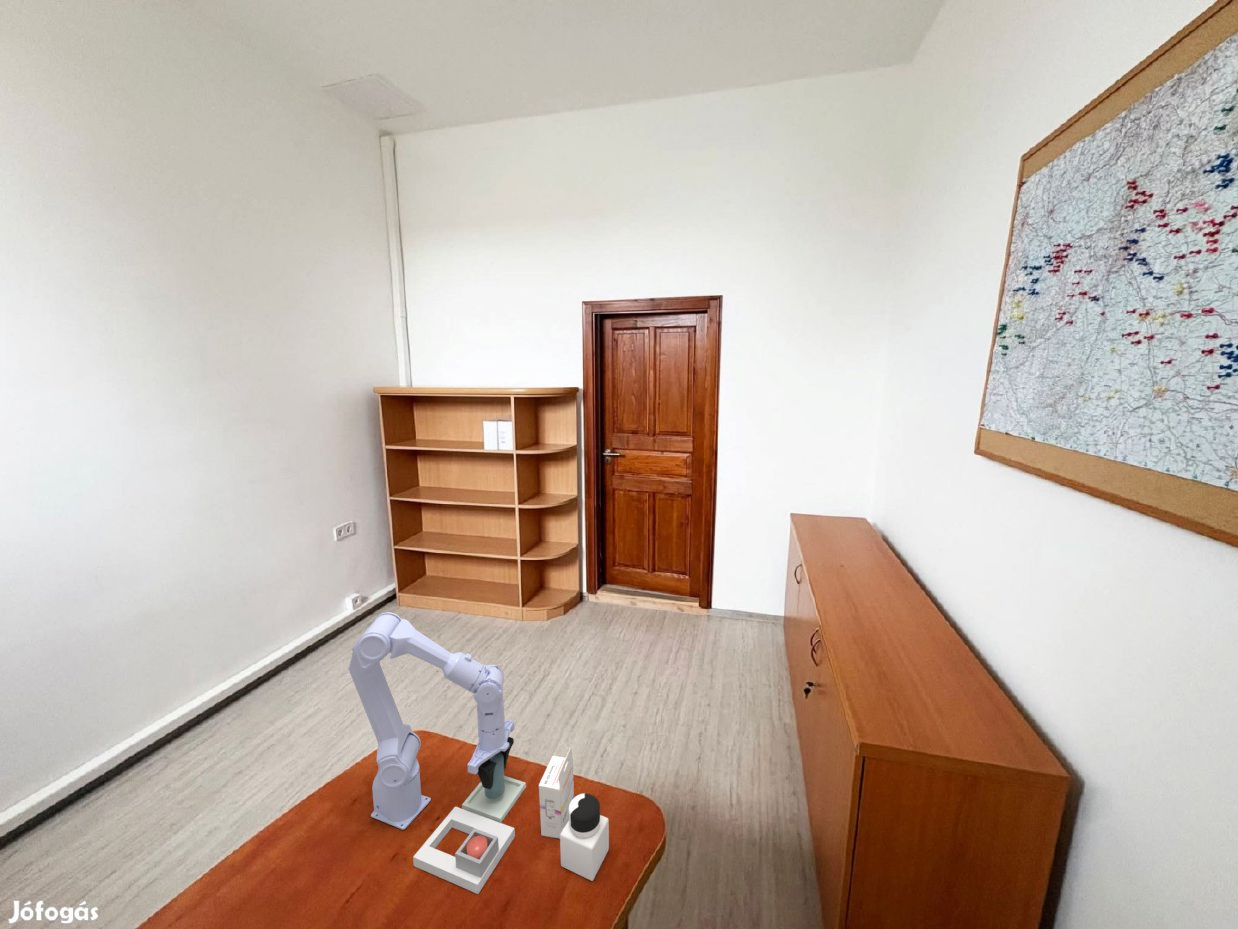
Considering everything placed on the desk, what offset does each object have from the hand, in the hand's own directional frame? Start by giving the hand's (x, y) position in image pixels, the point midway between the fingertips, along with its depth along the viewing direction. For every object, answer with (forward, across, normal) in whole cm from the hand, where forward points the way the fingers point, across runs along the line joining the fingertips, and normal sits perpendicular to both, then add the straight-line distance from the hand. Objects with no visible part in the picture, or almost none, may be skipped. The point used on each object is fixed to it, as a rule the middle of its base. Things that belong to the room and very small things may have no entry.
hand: (494, 778), depth 104 cm
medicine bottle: (+5, -6, -25) cm, 26 cm away
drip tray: (+5, 0, 0) cm, 5 cm away
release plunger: (+3, -15, -7) cm, 16 cm away
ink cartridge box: (+5, 0, -16) cm, 17 cm away
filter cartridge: (+3, 0, 0) cm, 3 cm away
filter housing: (+5, -12, -2) cm, 14 cm away
